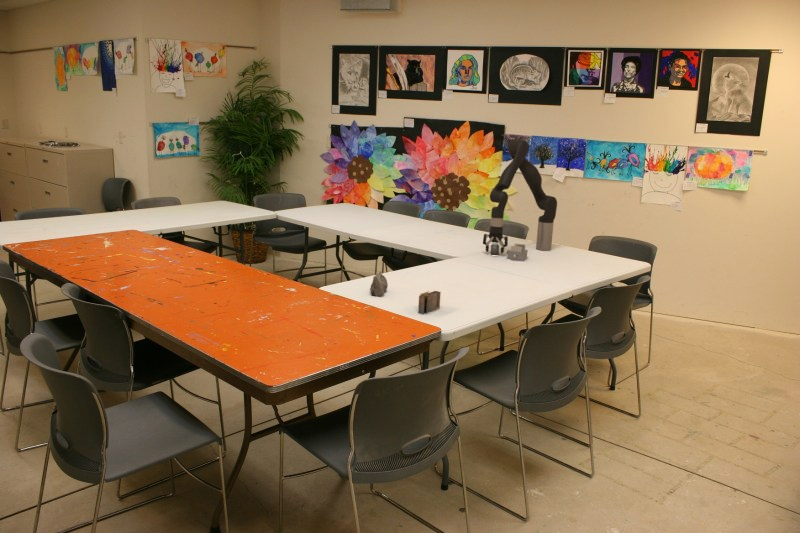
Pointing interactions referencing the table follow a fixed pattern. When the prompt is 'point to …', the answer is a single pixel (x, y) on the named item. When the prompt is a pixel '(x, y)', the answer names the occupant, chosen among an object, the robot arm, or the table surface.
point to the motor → (517, 252)
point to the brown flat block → (429, 301)
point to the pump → (494, 249)
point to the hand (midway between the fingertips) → (494, 252)
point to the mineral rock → (378, 285)
